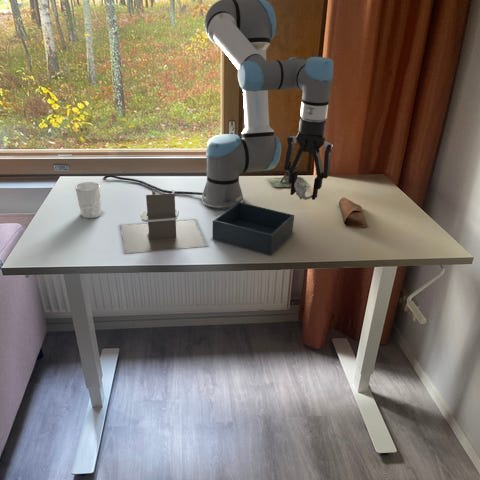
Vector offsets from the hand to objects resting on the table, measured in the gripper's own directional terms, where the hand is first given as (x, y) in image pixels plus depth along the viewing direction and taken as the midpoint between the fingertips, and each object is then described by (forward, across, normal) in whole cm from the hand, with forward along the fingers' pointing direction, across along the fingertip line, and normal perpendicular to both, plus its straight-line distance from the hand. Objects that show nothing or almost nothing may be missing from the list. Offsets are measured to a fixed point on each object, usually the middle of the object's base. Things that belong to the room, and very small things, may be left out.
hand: (303, 195), depth 157 cm
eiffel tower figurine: (+15, -21, +44) cm, 52 cm away
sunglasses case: (+15, +11, +26) cm, 31 cm away
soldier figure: (0, -1, 0) cm, 1 cm away
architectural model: (+15, -39, -21) cm, 47 cm away
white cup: (+15, -69, -20) cm, 73 cm away
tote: (+15, -13, -7) cm, 21 cm away
